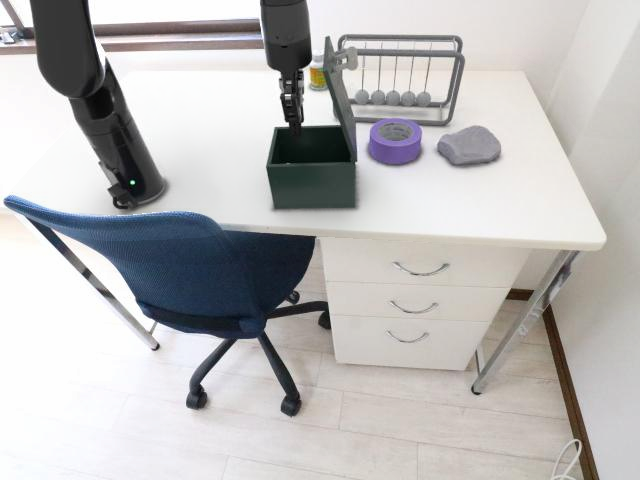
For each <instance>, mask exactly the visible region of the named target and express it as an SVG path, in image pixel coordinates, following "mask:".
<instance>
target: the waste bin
mask: <svg viewBox="0 0 640 480" xmlns="http://www.w3.org/2000/svg"><path fill="white" fill-rule="evenodd" d="M287 163H290V164H287ZM265 164H266V166H265V169H266V175H267V179H268V183H269V189H270V193H271V199H272V204H273V208H274V210H286V209H290V210H292V209H293V210H295V209H343V208H348V209H349V208H351V209H352V208H356V162H355V163H353V160H352V157H351V154H350V151H349V148H348V145H347V143H346V140H345V137H344V134H343V131H342V128H341V125H340V124H321V125H302V137H301V138H292V137H291V136H290V130H289V126H274V128H273V133H272V138H271V142H270V146H269V151H268V156H267V161H266V163H265Z"/></svg>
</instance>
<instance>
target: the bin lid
mask: <svg viewBox="0 0 640 480" xmlns="http://www.w3.org/2000/svg"><path fill="white" fill-rule="evenodd" d="M347 48H348V49H347V51H346V52H345V53H342V54H339V55H335V52H336V51H335V48H334V46H333V43H332V40H331V36H330V35H327V36H325V37H324V47H323V51H324V60H323V75H324V78H325V81H326V84H327V90H328V93H329V96H330V99H331V101H332V105H333V104H334V107H335V110H336V113H337V116H338V119H339V120H338V119H337V120H338V122H339V125H341V128H342V131H343V134H344V137H345V140H346V143H347V145H348V148H349V151H350V154H351V157H352V160H353V163H355V164H356V163H358V145H357V144H358V142H357V139H358V138H357V121H355V118H354V117H355V115H354V112H353V109H352V105H351V103H350V101H349V98H350V97H349V95H348V91H347V88H346V86H345V82H344V79H343V78H344V77H343V74H342V75H341V72H340V71H341V70H342V71H344V70H346V69H347V70H349V71H355V70H357V69H358V67H359V58H358V56H357V49H358V48H357V47H356V46H349V47H347ZM356 48H357V49H356ZM339 60H342V61H343V60H346V62H344V63H343V62H342V64H340V65H338V61H339Z"/></svg>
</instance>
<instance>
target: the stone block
mask: <svg viewBox="0 0 640 480" xmlns="http://www.w3.org/2000/svg"><path fill="white" fill-rule="evenodd" d="M501 144H502V143H501V142H500V140H499V139H498V138H497V137H496V135H495V134H494V133H493V132H491V131H490V129H488V128H487V127H485V126H483V125H478V124H477V125H475V124H474V125H470V126H468V127H465V128H463V129H461V130H459V131H457V132H455V133H450V134H449V133H444V134H442V135H441V137H440V138H439V140H438V142H437V145H436V146H437V150H438V152H439V153H441V155H442V156H443V157H445V158H446V159H448V161H450V163H452V164H453V165H456V166H457V165H458V166H459V165H468V164H481V163H485V162H487V163H488V162H491V161H493V160H494V159H495V158H497V157H499V156H500V155H501V153H502V145H501Z"/></svg>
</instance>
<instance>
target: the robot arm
mask: <svg viewBox="0 0 640 480" xmlns="http://www.w3.org/2000/svg"><path fill="white" fill-rule="evenodd" d="M257 1H258V7H259V9H258V11H259V12H258V13H259V15H258V16H259V24H260V30H261V36H262V42H263V48H264V54H265V60H266V65H267V66H268V68H270V69H271V70H273V71H277V72H279V73H280V77H279V78H278V87H279V90H280V92H281V93H280V95H279V100H280V103H281V108H282V113H283V118H284V122H285V123H288V127H289V130H290V136H291V137H292V138H301V137H302V126H303V125H302V124H303V123H304V122H305V111H304V101H305V98H304V94H305V71H304V69H305V68H307V67H309V64H310V63H311V61H312V51H313V47H312V36H311V21H310V13H309V7H308V6H309V5H308V1H307V0H257ZM28 2H29V6H30V11H31V19H32V27H33V35H34V44H35V53H36V64H37V66H38V70H39V73H40V75H41V76H42V78H43V79H44V81H45V82H46V83H47V84H48V85H49V87H51V89H53V90H54V91H56V92H57V93H58V94H59V95H62V96H63V97H66V98H67V100H68V102H69V105H70V107H71V111H72V115H73V117H74V120H75V122H76V124H77V126H78V127H79V129H80V131H81V132H82V134H83V135H84V137H85V138H86V140H87V142H88V143H89V145H90V147H91V149H92V150H93V151H94V153H95V155H96V157H97V158H98V160H99V161H98V162H97V164H98V166H99V168H100V169H101V170H102V172H103V174H104V176H105V178H107V180H108V182H109V184H110V185H111V186H110V187H108V188H106V190H107V192H108V194H109V195H110V197H111V198H112V205H113V207H114V208H115V209H118V210H124V211H128V210H129V206H131V207H132V208H136V207H138V206H141V205H145V204H149V203H152V202H153V201H155V200H156V199H158V198H159V197H160V196H161V195H163V193H164V191H165V190H166V182H165V181H164V179H163V177H162V175H161V173H160V171H159V169H158V167H157V165H156V163H155V161H154V159H153V157H152V155H151V152H150V150H149V148H148V146H147V144H146V141H145V140H144V138H143V136H142V133H141V132H140V130H139V128H138V125H137V123H136V121H135V119H134V117H133V115H132V112H131V110H130V108H129V106H128V103H127V100H126V96H125V94H124V91H123V89H122V87H121V85H120V82H119V80H118V78H117V75H116V74H115V71H114V70H113V67H112V65H111V63H110V60H109V58H108V56H107V54H106V52H105V50H104V48H103V47H102V45H101V43H100V42H99V41H98V40H97V39H96V36H95V32H94V27H93V22H92V15H91V9H90V0H28ZM126 204H128V205H129V206H128V205H126Z"/></svg>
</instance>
